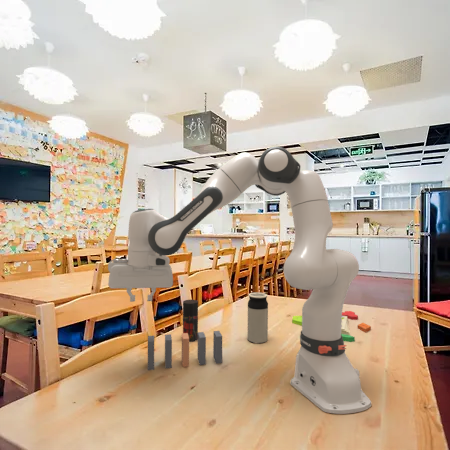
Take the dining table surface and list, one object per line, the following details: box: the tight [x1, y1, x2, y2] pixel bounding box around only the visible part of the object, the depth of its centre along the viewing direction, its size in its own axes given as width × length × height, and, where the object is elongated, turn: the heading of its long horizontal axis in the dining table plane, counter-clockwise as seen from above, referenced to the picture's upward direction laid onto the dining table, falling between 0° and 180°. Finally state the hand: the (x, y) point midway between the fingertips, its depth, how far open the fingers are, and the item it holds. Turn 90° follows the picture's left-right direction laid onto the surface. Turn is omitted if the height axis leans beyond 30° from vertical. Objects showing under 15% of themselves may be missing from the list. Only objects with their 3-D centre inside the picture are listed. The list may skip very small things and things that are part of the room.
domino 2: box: [164, 333, 173, 369], centre depth 101 cm, size 2×5×9 cm, turn 13°
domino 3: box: [181, 332, 190, 368], centre depth 102 cm, size 2×5×9 cm, turn 13°
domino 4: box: [197, 331, 207, 366], centre depth 104 cm, size 2×5×9 cm, turn 13°
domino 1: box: [147, 335, 155, 371], centre depth 100 cm, size 2×5×9 cm, turn 13°
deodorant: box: [182, 299, 199, 343], centre depth 123 cm, size 6×6×15 cm
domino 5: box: [212, 330, 223, 364], centre depth 105 cm, size 2×5×9 cm, turn 13°
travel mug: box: [246, 292, 269, 344], centre depth 123 cm, size 8×8×18 cm
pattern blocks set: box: [291, 310, 372, 343], centre depth 141 cm, size 38×34×3 cm
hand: (141, 300), depth 101 cm, fingers open, 4 cm apart
